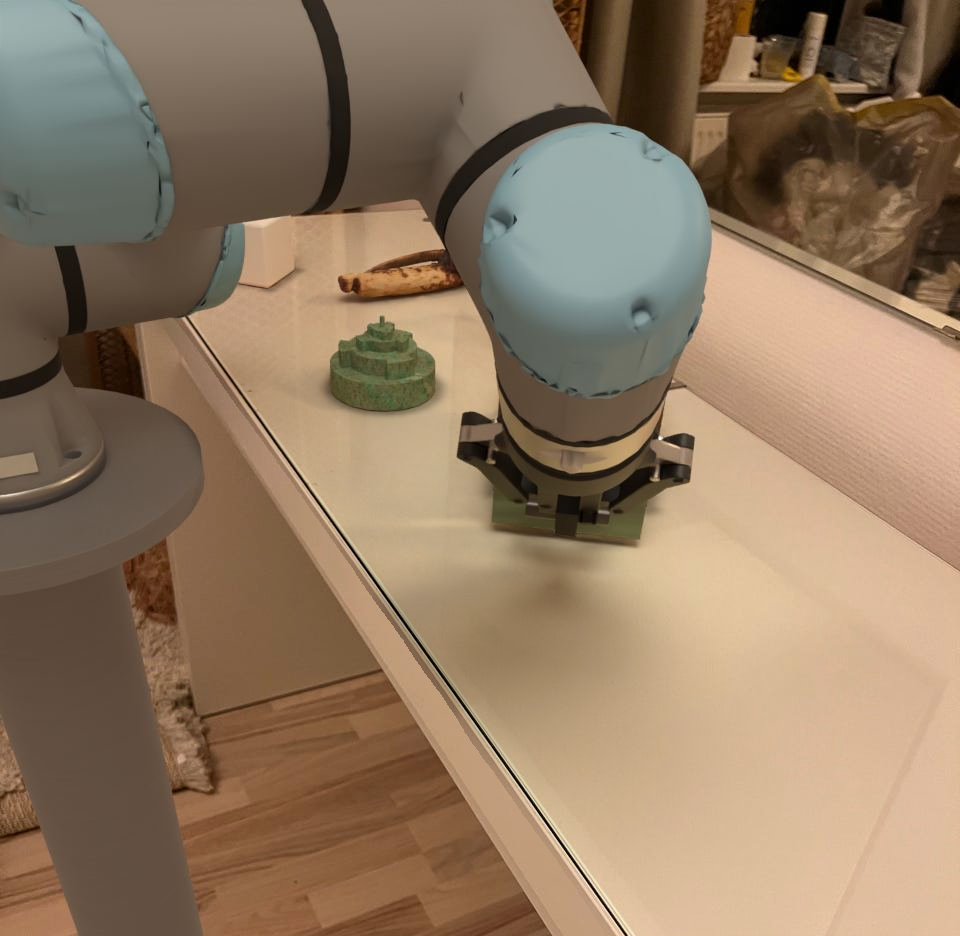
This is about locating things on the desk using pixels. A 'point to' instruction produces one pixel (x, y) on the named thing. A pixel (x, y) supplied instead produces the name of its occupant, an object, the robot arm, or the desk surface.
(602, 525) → the drawer
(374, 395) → the decorative artifact
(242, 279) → the medicine bottle
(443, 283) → the lashed bone hook
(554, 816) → the desk surface
